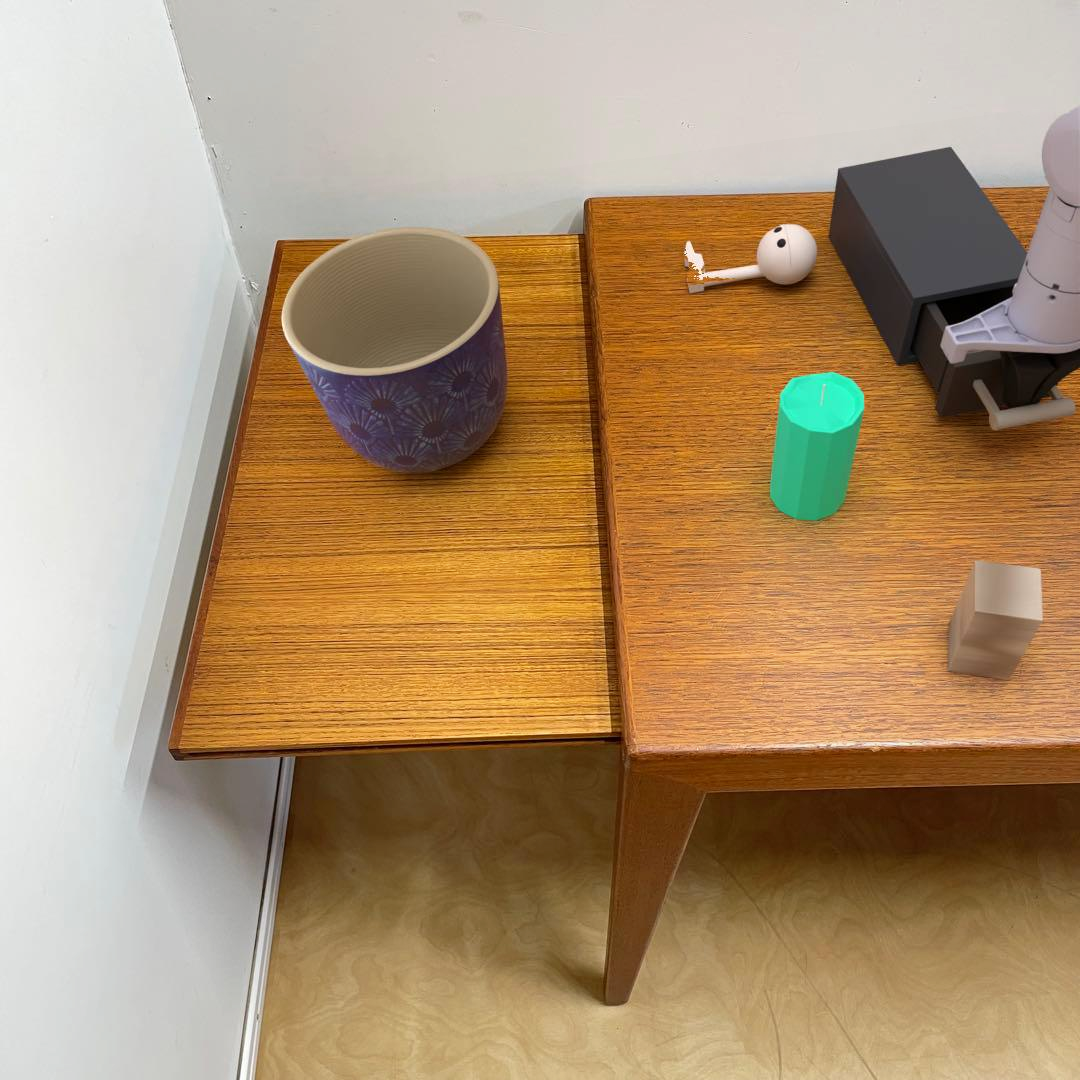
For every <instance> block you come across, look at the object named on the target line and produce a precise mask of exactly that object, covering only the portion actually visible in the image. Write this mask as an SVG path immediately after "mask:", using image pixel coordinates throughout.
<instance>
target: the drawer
mask: <svg viewBox="0 0 1080 1080" xmlns="http://www.w3.org/2000/svg"><path fill="white" fill-rule="evenodd" d="M1013 288H1014V286H1010V287H1005V288H1000V289H995V290H990V291H984V292H979V293H974V294H969V295H964V296H959V297H953V298H948V299H943V300H938V301H933V302H928V303H922V304H921V308H920V312H919V315H918V319H917V323H916V327H915V331H914V335H913V339H912V343H911V347H912V349H913V350H914V352H915V354H916V356H917V358H918V359H919V361H920V362H919V363H920V365H921V367H922V368H923V370H924V372H925V375H926V376H927V377H928V379H929V381H930V383H931V385H932V387H933V388H934V391H935V392H936V393H937V394H938V395H937V400H936V402H935V405H934V411H935V412H936V414H937V416H938V417H939V419H945V418H949V417H954V416H958V415H964V414H969V413H975V412H981V411H985V410H987V412H988V414H989V416H988V423H989V426H990V428H991V429H992V430H993V431H998V430H1004V429H1009V428H1015V427H1019V426H1020V427H1021V426H1024V425H1030V424H1035V423H1039V422H1045V421H1050V420H1057V419H1060V418H1065V417H1071V416H1073V415H1074V414H1075V413H1076V404H1075V401H1074V399H1073V398H1071V397H1065V396H1064V395H1063V394H1062V392H1061V391H1060V389H1059V388H1058V384H1059V382H1058V383H1057V384H1056V385H1055V386H1054V387H1053V388H1052V389H1051V390H1050V391H1049V392H1048V393H1047V394H1046V395H1045V396H1044V397H1043V398H1042V399H1041V400H1043V399H1047V398H1050V399H1051V400H1048V401H1043V402H1039V403H1037V404H1032V405H1027V406H1021V407H1016V408H1011V409H1008V408H1007V409H1006V408H1005V409H1000V407H1007V406H1006V404H1005V403H1004V401H1003V399H1002V398H1003V366H1002V360H1001V356H1000V352H999V351H995V350H985V351H980V352H975V353H969V354H966V356H965V359H964V361H962V362H958V363H952V364H951V363H950V362H949V360H948V358H947V357H946V355H945V354H944V352H943V350H942V348H941V346H940V345H941V341H942V338H943V334H944V331H945V327H946V326H950V325H954V324H958V323H961V322H964V321H966V320H968V319H970V318H972V317H974V316H976V315H978V314H980V313H982V312H984V311H986V310H988V309H990V308H992V307H993V306H995V305H997V304H999V303H1001V302H1003V301H1005V300H1007V299H1009V298H1011V297H1013V292H1012V291H1013Z"/></svg>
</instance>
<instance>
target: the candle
mask: <svg viewBox="0 0 1080 1080" xmlns="http://www.w3.org/2000/svg"><path fill="white" fill-rule="evenodd" d="M777 411H778V413H777V421H776V430H775V439H774V445H773V447H774V448H773V456H772V465H771V471H770V472H771V473H770V474H771V475H770V482H769V483H770V484H769V498H770V499H771V501H772V502H773V503H774V505H775V507H776V508H777V509H778V511H779V512H781V513H783V514H784V515H787V516H789V517H791V518H793V519H794V520H801V521H814V522H816V521H820V520H823V519H824V518H828V517H830V516H833V515H835V514H836V513H837V512H838V510H839V509H840V508H841V506H842V505H843V504H844V503H845V501H846V496H847V491H848V488H849V482H850V478H851V473H852V468H853V464H854V460H855V459H854V458H855V454H856V450H857V444H858V441H859V435H860V431H861V427H862V421H863V416H864V413H865V394H864V392H863V391H862V389H861V388H860V387H859V386H858V384H857V383H856V382H855V381H854V379H853V378H849V377H847V376H845V375H842V374H839V373H837V372H834V371H831V372H829V371H828V372H822V373H813V374H807V375H801V376H796V377H792V378H791V379H790V380H789V381H788V383H787V384H786V386H785V387H784V388H783V389H782V391H781V392H780V395H779V404H778V410H777Z"/></svg>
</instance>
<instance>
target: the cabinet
mask: <svg viewBox="0 0 1080 1080" xmlns="http://www.w3.org/2000/svg"><path fill="white" fill-rule="evenodd" d="M828 229H829V230H828V238H829V241H830V243H831V244H832V246H833V248H834V250H835V251H836V254H837V256H838V258H839V259H840V262H841V263H842V265H843V267H844V269H845V270H846V272H847V274H848V276H849V278H850V280H851V281H852V283H853V285H854V287H855V289H856V291H857V293H858V295H859V297H860V299H861V301H862V302H863V305H864V306H865V308H866V310H867V311H868V313H869V315H870V318H871V319H872V321H873V323H874V325H875V327H876V328H877V330H878V332H879V334H880V336H881V338H882V339H883V342H884V343H885V345H886V347H887V349H888V351H889V352H890V355H891V356H892V358H893V360H894V362H895V364H896V366H897V367H901V366H905V365H910V364H916V363H920V361H919V359H918V358H917V356H916V354H915V352H914V350H913V349H912V347H911V343H912V339H913V335H914V331H915V327H916V323H917V319H918V315H919V312H920V308H921V304H922V303H928V302H933V301H938V300H943V299H948V298H953V297H959V296H964V295H969V294H974V293H979V292H984V291H990V290H995V289H1000V288H1005V287H1010V286H1014V285H1015V284H1016V283H1017V282H1018V279H1019V276H1020V273H1021V270H1022V268H1023V265H1024V262H1025V259H1026V256H1027V253H1028V250H1026V248H1025V247H1024V246H1023V244H1022V243H1021V242H1020V241H1019V240H1020V239H1018V238H1017V236H1016V234H1015V233H1014V232H1013V231H1012V229H1011V227H1010V226H1009V225H1008V224H1007V222H1006V220H1005V219H1004V218H1003V216H1001V214H1000V213H999V211H998V209H996V207H995V205H994V204H993V202H992V201H991V200H990V199H989V197H988V195H986V193H985V192H984V190H983V189H982V188H981V187H980V185H979V183H978V182H977V181H976V179H975V178H974V176H973V175H972V174H971V173H970V171H969V170H968V169H967V166H966V165H965V163H963V162H962V160H961V159H960V157H959V155H957V153H956V151H955V150H954V149H953V148H952V146H948V147H947V146H946V147H942V148H936V149H931V150H926V151H922V152H921V151H920V152H915V153H910V154H905V155H901V156H900V155H899V156H897V157H891V158H885V159H879V160H874V161H870V162H864V163H859V164H855V165H849V166H844V167H843V166H842V167H839V168H838V169H837V174H836V181H835V187H834V194H833V203H832V208H831V215H830V223H829V228H828Z"/></svg>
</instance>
